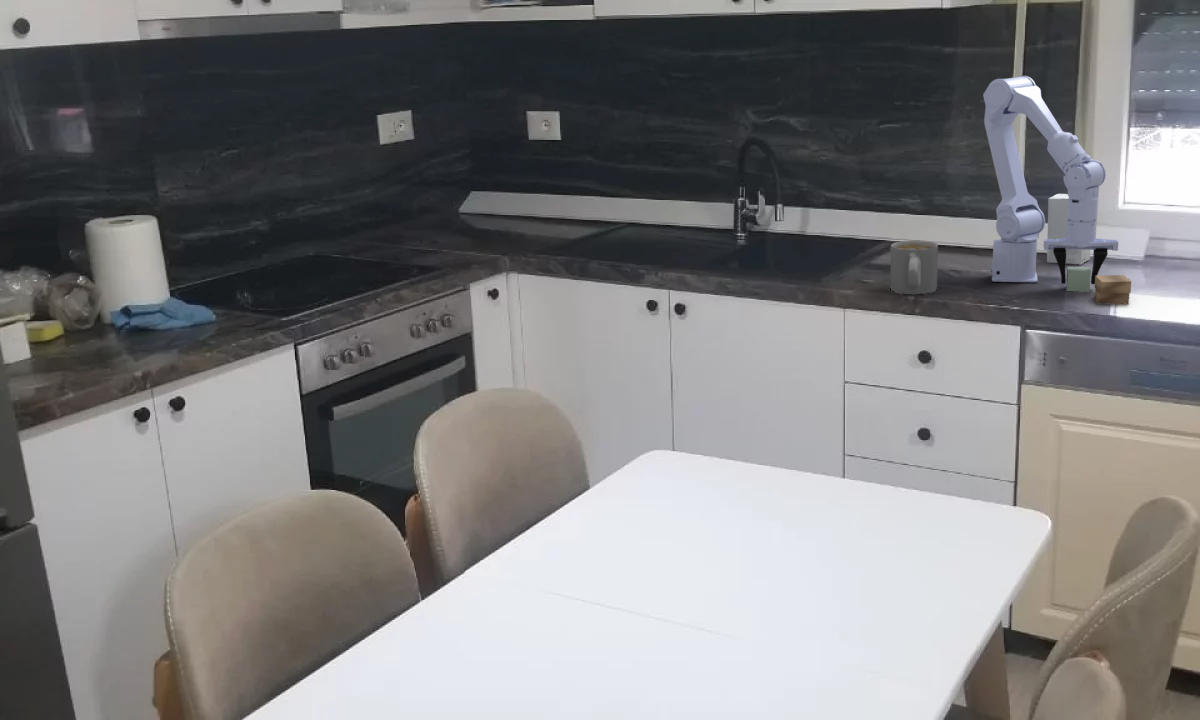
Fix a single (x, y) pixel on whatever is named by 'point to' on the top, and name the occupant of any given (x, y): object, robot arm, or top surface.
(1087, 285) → the block
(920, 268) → the coffee mug
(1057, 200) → the skincare box
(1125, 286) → the tower top
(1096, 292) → the tower base
